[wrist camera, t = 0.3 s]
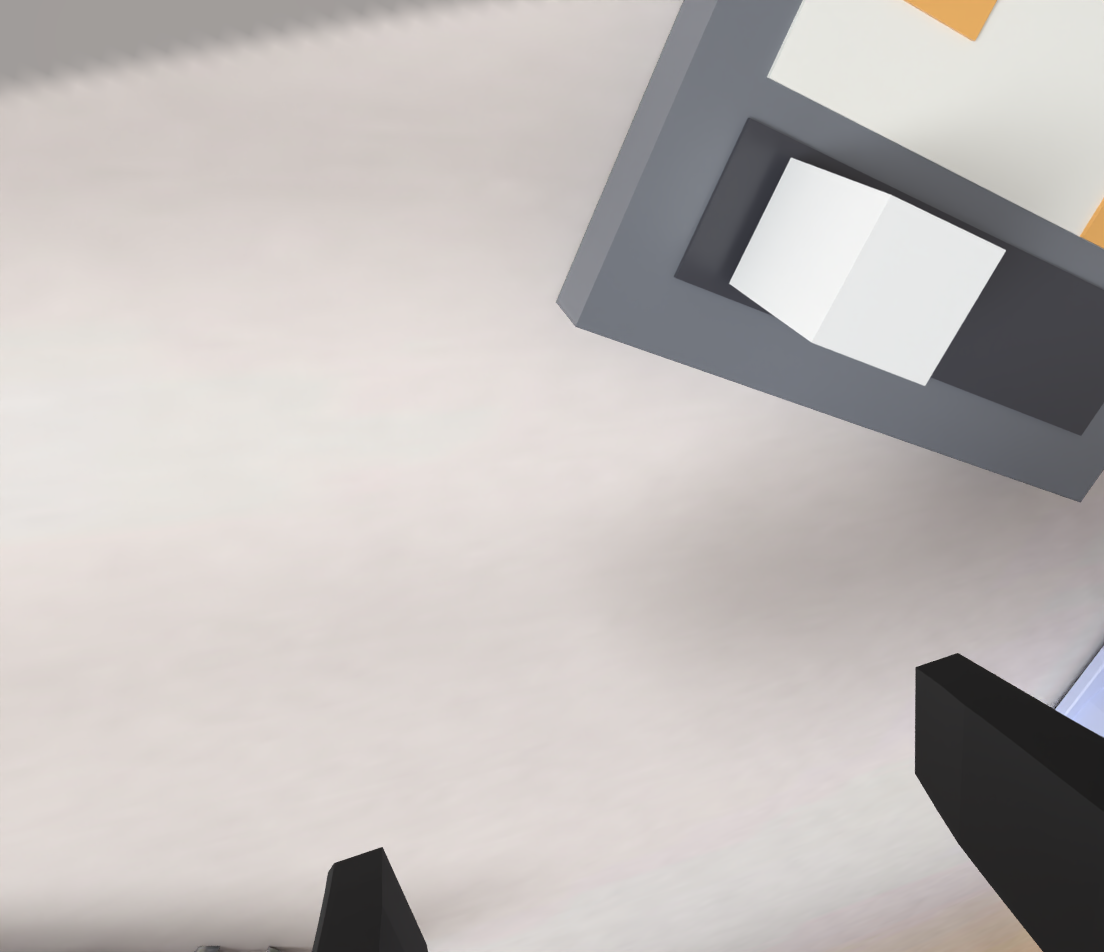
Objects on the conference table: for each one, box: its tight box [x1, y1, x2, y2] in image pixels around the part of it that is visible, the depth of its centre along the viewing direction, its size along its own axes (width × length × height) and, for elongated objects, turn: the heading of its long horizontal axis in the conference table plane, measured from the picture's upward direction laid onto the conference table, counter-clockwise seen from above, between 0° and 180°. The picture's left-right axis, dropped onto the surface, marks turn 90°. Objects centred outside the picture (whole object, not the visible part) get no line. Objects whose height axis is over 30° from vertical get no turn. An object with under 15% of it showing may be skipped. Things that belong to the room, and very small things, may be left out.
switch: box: [729, 158, 1006, 386], centre depth 16 cm, size 2×2×3 cm
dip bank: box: [556, 0, 1104, 502], centre depth 18 cm, size 14×14×2 cm
